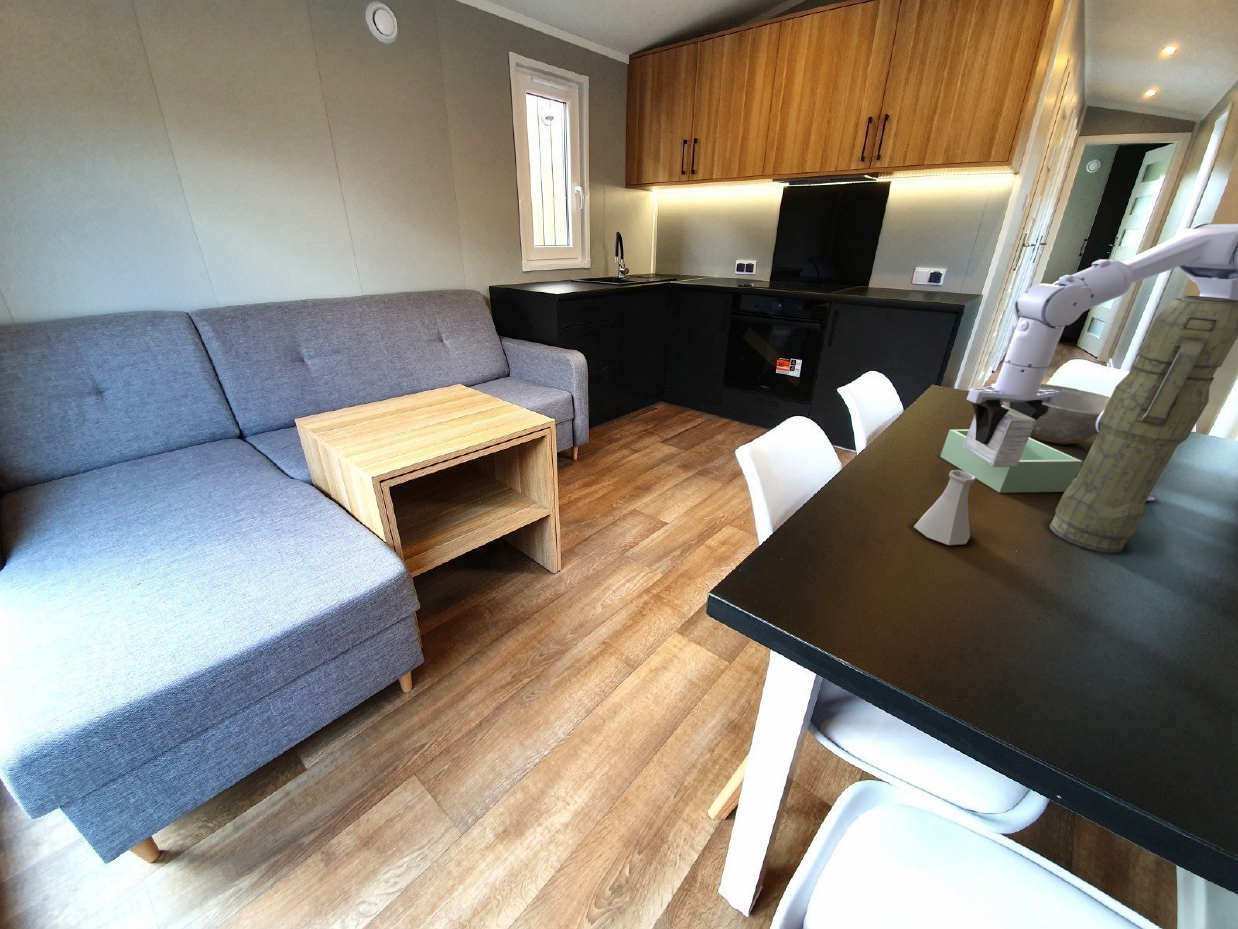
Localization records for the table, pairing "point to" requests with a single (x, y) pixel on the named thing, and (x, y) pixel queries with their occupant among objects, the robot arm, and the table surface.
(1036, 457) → the mint green tray
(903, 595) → the table surface
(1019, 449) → the medicine box
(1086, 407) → the ceramic bowl
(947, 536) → the flask
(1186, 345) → the thermos
